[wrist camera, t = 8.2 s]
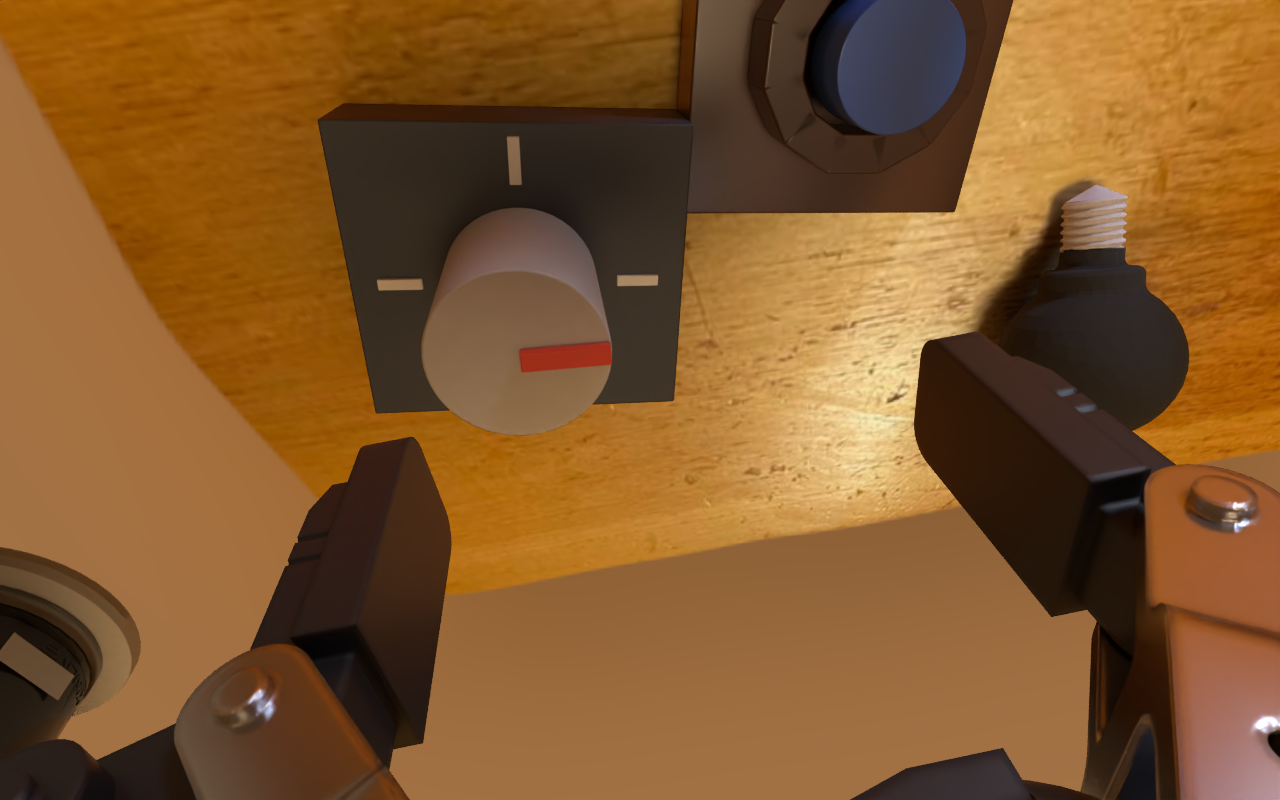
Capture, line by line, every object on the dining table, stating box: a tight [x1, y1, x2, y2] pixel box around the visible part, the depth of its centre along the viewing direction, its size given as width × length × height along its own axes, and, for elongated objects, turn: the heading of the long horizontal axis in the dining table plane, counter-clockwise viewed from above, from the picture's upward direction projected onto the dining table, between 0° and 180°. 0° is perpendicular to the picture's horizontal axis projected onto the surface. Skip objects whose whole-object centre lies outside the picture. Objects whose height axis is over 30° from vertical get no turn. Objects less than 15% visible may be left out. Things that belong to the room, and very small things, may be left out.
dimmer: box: [421, 208, 612, 435], centre depth 20 cm, size 5×5×6 cm
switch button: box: [811, 0, 966, 135], centre depth 19 cm, size 4×4×2 cm
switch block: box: [677, 0, 1013, 213], centre depth 21 cm, size 10×10×4 cm
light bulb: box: [999, 184, 1189, 431], centre depth 27 cm, size 6×6×10 cm
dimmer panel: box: [318, 104, 693, 413], centre depth 24 cm, size 11×10×3 cm
